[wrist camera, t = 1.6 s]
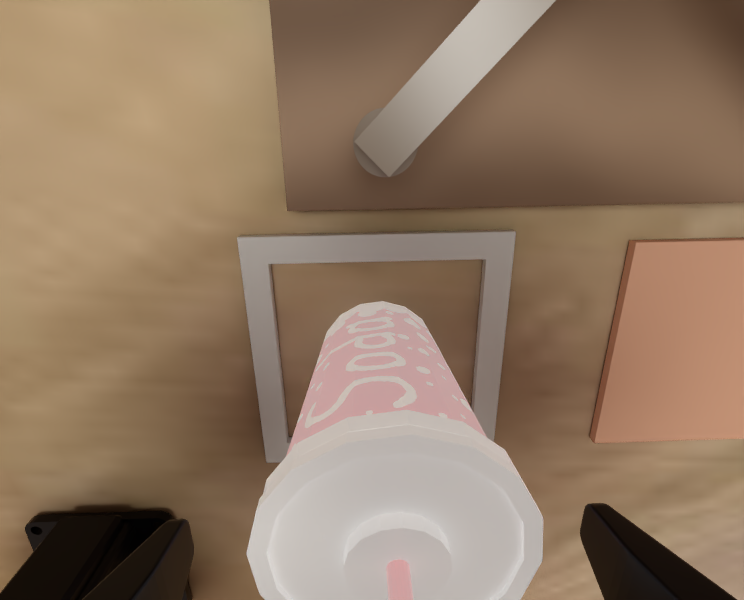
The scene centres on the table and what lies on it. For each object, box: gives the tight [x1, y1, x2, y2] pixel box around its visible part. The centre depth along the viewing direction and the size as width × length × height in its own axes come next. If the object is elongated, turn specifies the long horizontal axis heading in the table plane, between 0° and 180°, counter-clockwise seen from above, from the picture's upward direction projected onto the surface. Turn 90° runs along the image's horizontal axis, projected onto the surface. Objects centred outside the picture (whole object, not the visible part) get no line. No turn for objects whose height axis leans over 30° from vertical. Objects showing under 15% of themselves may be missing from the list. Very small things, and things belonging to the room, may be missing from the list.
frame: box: [237, 230, 516, 463], centre depth 17 cm, size 10×10×1 cm
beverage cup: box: [246, 301, 543, 600], centre depth 10 cm, size 6×6×14 cm
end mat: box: [590, 238, 744, 443], centre depth 17 cm, size 9×9×1 cm
